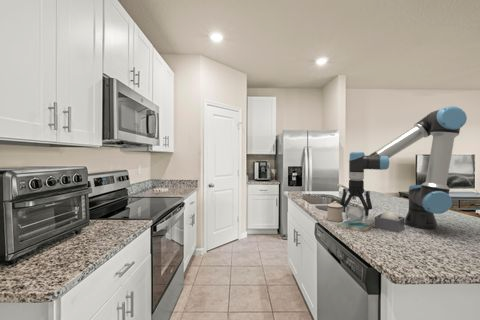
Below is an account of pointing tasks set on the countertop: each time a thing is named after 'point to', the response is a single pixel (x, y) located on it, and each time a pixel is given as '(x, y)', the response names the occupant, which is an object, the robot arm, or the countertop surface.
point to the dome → (390, 215)
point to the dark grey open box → (389, 224)
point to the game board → (355, 225)
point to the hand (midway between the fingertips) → (355, 220)
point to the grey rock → (355, 213)
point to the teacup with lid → (334, 212)
